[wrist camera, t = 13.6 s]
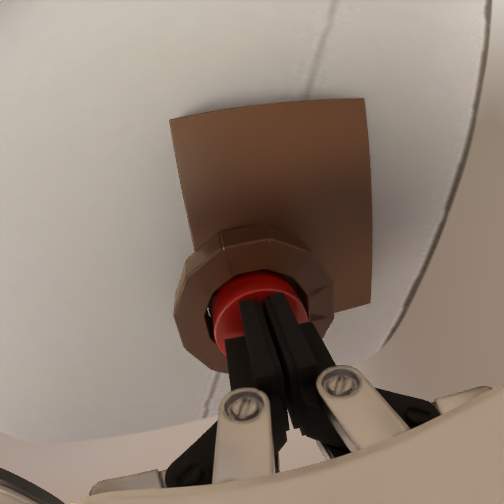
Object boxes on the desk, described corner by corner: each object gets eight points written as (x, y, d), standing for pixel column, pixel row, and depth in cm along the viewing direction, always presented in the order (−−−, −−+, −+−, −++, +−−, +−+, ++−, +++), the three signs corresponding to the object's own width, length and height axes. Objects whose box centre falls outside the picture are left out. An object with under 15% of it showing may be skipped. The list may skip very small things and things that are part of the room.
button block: (353, 302, 18) (384, 342, 14) (196, 336, 17) (197, 387, 13) (343, 100, 14) (386, 95, 10) (146, 127, 13) (126, 126, 9)
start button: (298, 331, 14) (310, 355, 12) (221, 347, 14) (224, 373, 12) (292, 260, 13) (305, 280, 11) (203, 278, 12) (204, 300, 11)
